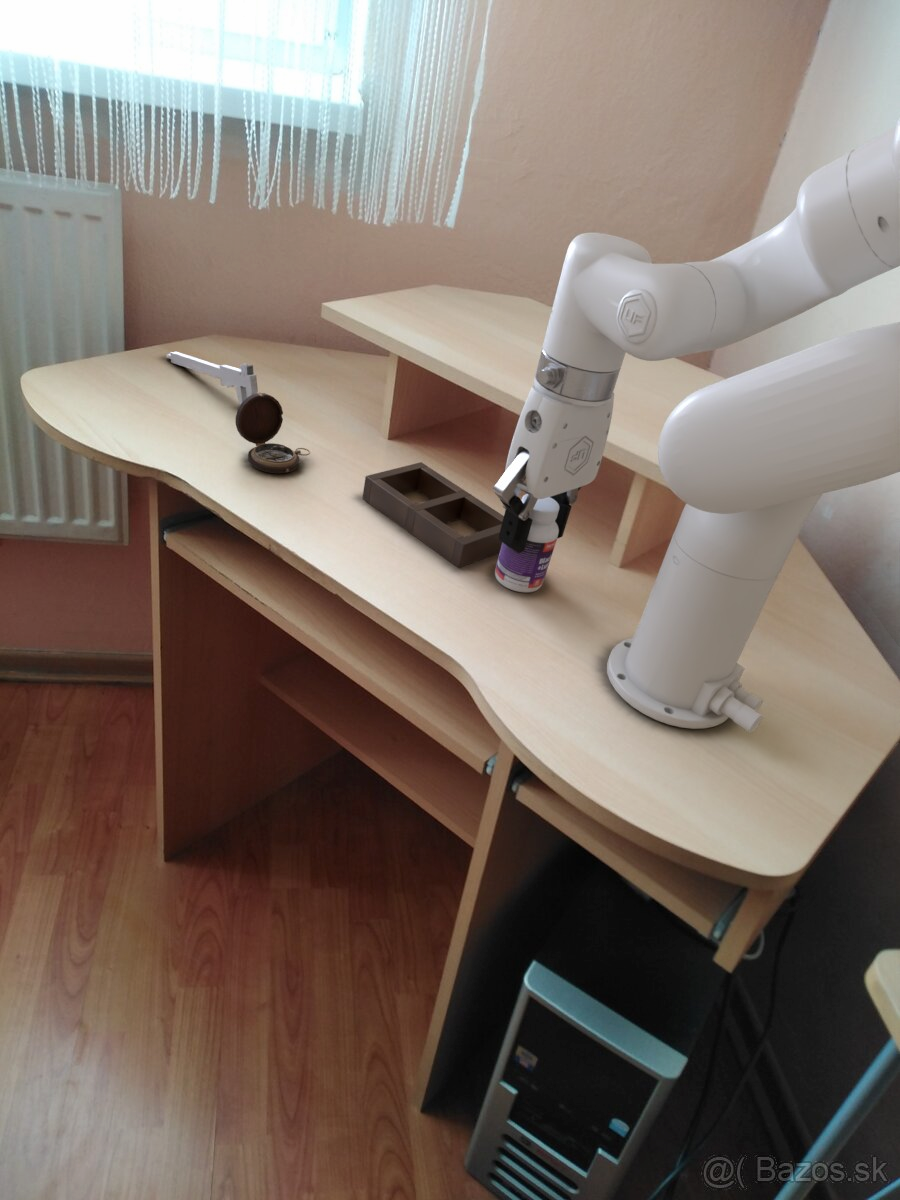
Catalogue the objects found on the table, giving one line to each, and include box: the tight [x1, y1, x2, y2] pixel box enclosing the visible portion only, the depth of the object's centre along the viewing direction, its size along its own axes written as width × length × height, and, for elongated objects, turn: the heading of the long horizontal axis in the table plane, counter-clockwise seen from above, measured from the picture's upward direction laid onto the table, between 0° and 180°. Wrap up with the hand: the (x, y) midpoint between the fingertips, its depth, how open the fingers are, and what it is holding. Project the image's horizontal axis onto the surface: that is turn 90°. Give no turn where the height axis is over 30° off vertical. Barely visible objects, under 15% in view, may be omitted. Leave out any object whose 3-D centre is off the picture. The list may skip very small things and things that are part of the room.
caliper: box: [165, 351, 259, 406], centre depth 121 cm, size 20×1×6 cm, turn 47°
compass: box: [235, 391, 311, 474], centre depth 107 cm, size 8×8×7 cm
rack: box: [362, 461, 504, 569], centre depth 103 cm, size 17×9×3 cm, turn 44°
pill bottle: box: [494, 493, 559, 593], centre depth 94 cm, size 5×5×10 cm
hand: (530, 537), depth 94 cm, fingers closed on pill bottle, 5 cm apart
